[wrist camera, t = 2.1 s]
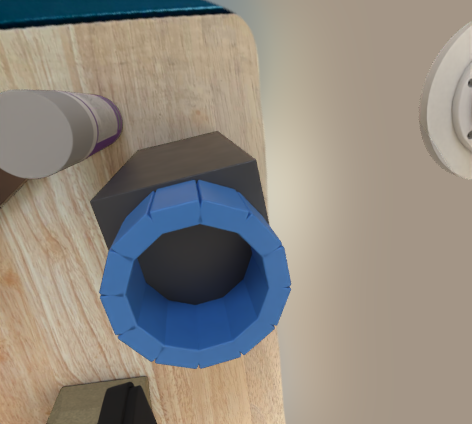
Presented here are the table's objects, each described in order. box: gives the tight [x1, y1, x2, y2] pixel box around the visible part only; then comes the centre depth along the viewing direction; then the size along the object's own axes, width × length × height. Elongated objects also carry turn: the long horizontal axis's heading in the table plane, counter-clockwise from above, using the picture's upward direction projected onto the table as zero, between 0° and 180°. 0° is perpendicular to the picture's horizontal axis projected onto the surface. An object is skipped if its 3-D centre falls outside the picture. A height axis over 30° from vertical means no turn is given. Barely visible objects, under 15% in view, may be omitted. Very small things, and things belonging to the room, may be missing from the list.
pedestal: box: [90, 131, 269, 305], centre depth 26 cm, size 8×8×18 cm
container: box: [0, 90, 123, 179], centre depth 24 cm, size 5×5×15 cm
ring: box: [99, 180, 291, 369], centre depth 15 cm, size 8×8×4 cm
